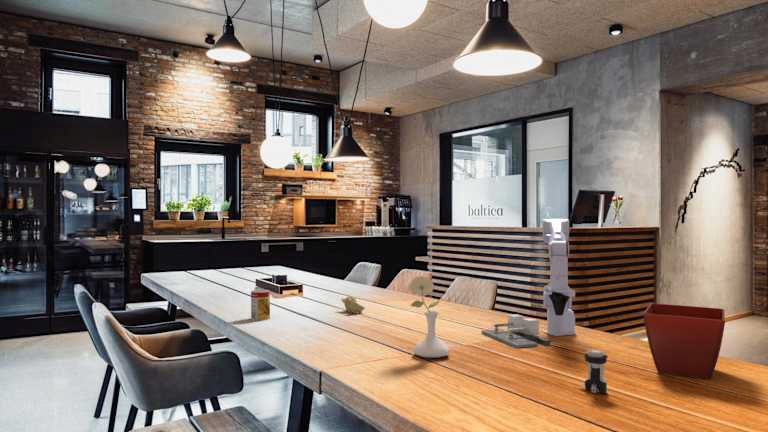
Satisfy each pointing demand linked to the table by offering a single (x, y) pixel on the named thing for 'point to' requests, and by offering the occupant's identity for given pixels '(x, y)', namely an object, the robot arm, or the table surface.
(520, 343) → the bolt hole plate
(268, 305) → the canned food
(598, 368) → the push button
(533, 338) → the bar
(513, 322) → the fixed divider leg
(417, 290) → the flower in vase
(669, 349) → the plant pot
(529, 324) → the sliding divider leg
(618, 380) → the table surface
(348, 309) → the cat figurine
